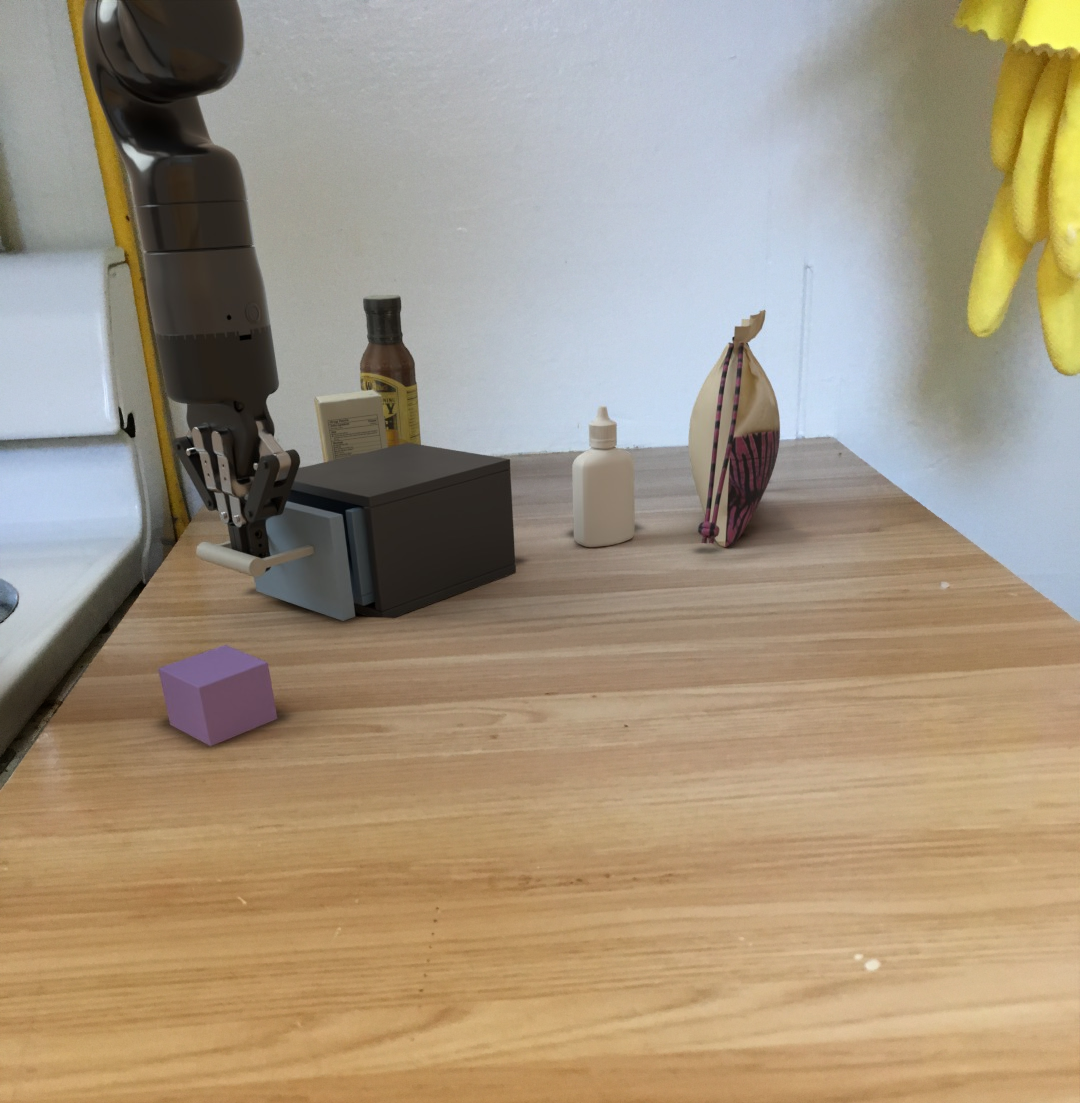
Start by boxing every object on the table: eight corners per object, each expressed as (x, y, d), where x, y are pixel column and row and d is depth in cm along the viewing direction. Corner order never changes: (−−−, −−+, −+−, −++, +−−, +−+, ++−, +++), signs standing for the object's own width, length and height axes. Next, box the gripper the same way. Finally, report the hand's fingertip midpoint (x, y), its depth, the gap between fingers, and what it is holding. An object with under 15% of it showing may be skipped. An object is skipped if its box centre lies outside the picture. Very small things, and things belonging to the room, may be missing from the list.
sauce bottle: (358, 482, 122) (337, 297, 114) (397, 471, 127) (379, 292, 118) (397, 489, 119) (378, 298, 110) (436, 477, 123) (421, 293, 114)
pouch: (771, 563, 89) (785, 323, 81) (673, 561, 91) (677, 325, 83) (777, 490, 111) (788, 295, 103) (698, 489, 113) (702, 297, 105)
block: (213, 759, 61) (198, 687, 59) (172, 737, 64) (157, 667, 62) (280, 731, 64) (268, 661, 62) (238, 711, 67) (225, 644, 65)
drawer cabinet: (383, 622, 81) (368, 497, 76) (286, 590, 88) (268, 475, 84) (516, 572, 90) (510, 459, 86) (418, 547, 98) (408, 442, 94)
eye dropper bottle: (573, 535, 99) (569, 403, 94) (633, 532, 99) (632, 400, 94) (574, 549, 95) (570, 412, 90) (636, 546, 95) (636, 409, 90)
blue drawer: (278, 644, 75) (261, 537, 71) (193, 611, 82) (173, 512, 79) (474, 574, 87) (467, 479, 84) (385, 550, 94) (375, 462, 91)
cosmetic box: (389, 509, 111) (377, 388, 106) (398, 519, 107) (385, 394, 102) (328, 516, 109) (312, 394, 104) (334, 527, 105) (318, 400, 100)
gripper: (111, 325, 73) (162, 568, 80) (217, 333, 64) (262, 604, 72) (208, 314, 77) (247, 544, 85) (317, 320, 69) (350, 575, 77)
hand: (254, 571), depth 78 cm, fingers closed
